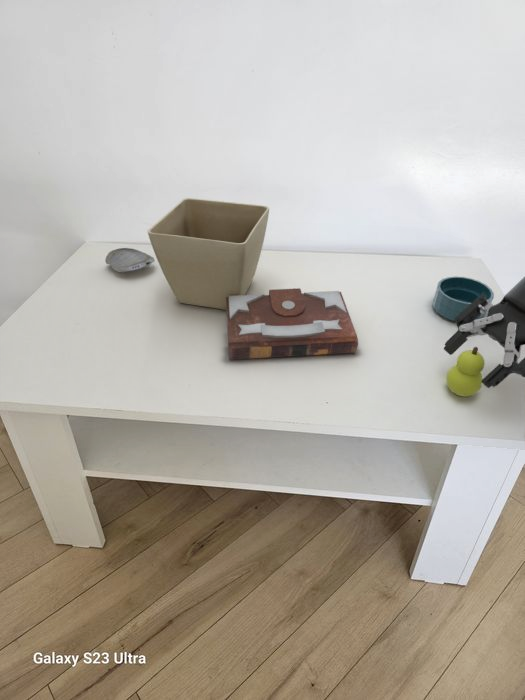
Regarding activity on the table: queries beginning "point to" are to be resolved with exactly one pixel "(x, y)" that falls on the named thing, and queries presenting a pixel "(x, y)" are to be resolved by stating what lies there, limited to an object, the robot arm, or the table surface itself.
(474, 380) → the pear
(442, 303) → the bowl
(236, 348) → the book
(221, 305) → the flower pot
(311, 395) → the table surface
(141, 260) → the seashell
